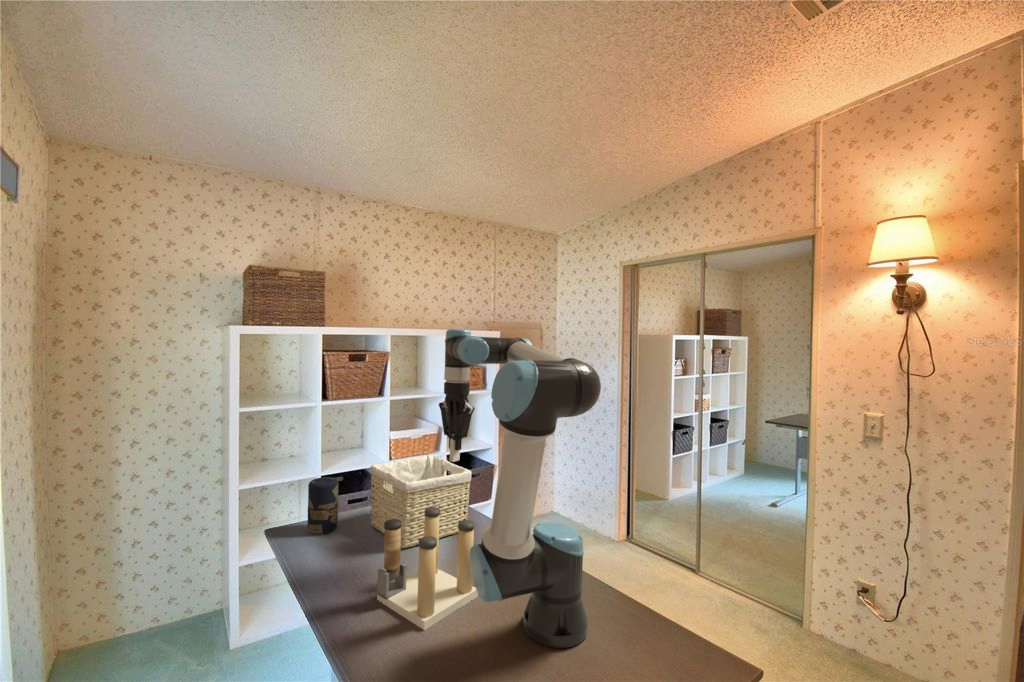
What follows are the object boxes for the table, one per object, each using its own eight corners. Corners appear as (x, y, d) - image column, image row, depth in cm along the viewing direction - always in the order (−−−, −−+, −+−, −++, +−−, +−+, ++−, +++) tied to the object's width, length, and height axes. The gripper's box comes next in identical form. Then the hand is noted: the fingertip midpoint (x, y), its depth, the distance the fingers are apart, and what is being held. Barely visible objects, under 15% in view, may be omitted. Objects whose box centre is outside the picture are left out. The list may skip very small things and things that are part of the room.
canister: (330, 536, 150) (332, 482, 150) (301, 535, 150) (303, 481, 150) (341, 524, 160) (343, 473, 159) (314, 523, 160) (316, 472, 160)
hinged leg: (393, 573, 119) (404, 578, 116) (380, 579, 116) (390, 585, 113) (394, 517, 119) (404, 521, 116) (380, 522, 116) (391, 526, 113)
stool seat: (477, 596, 119) (480, 523, 118) (422, 631, 104) (424, 548, 104) (431, 572, 130) (433, 505, 130) (375, 601, 115) (377, 525, 115)
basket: (431, 507, 178) (433, 451, 178) (473, 530, 159) (475, 468, 158) (365, 525, 160) (367, 463, 160) (403, 553, 140) (405, 483, 140)
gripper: (481, 382, 134) (479, 462, 135) (450, 378, 142) (448, 454, 143) (463, 384, 128) (461, 467, 129) (432, 380, 136) (430, 458, 137)
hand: (454, 460), depth 136 cm, fingers closed
